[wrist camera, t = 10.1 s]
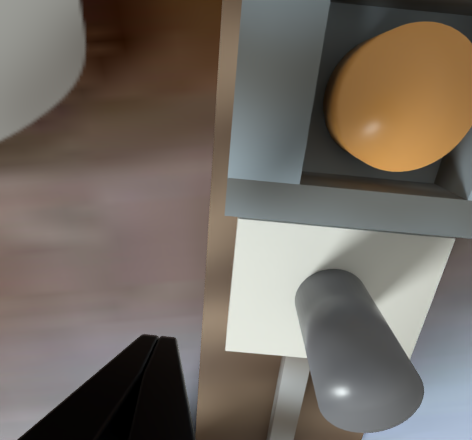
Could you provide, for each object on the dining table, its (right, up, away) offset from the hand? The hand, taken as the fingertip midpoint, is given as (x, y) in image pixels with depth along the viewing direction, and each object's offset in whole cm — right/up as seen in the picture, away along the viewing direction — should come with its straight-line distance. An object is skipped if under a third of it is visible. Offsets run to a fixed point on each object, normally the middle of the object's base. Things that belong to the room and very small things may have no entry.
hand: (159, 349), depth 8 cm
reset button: (+7, +8, +4) cm, 11 cm away
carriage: (+6, 0, +9) cm, 11 cm away
